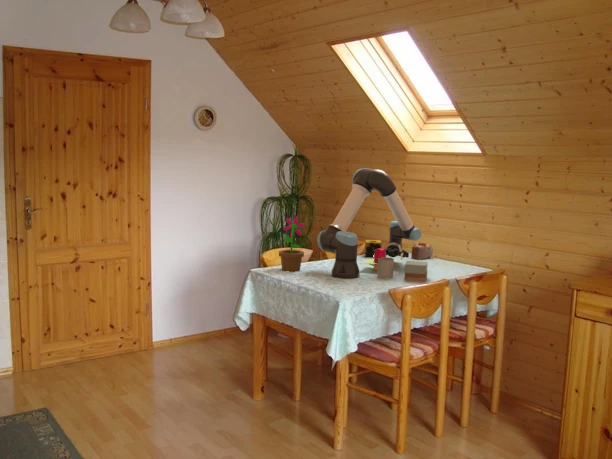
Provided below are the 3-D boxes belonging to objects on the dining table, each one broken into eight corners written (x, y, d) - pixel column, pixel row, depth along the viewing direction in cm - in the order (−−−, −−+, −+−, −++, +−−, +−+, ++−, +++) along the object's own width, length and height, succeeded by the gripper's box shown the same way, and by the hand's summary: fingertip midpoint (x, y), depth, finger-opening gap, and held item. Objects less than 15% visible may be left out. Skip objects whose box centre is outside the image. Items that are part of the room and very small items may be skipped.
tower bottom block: (425, 282, 333) (425, 274, 332) (404, 280, 335) (404, 272, 335) (427, 278, 343) (427, 270, 343) (406, 276, 346) (407, 268, 345)
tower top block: (425, 274, 332) (426, 265, 331) (404, 272, 335) (405, 264, 334) (427, 270, 343) (427, 261, 342) (406, 268, 345) (406, 260, 345)
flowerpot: (306, 268, 359) (308, 216, 355) (300, 273, 346) (301, 218, 342) (282, 266, 363) (283, 214, 359) (274, 271, 349) (275, 217, 345)
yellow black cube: (380, 255, 407) (381, 240, 406) (381, 258, 397) (381, 242, 396) (365, 254, 408) (365, 239, 407) (364, 257, 398) (365, 242, 397)
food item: (423, 256, 409) (424, 241, 407) (433, 258, 403) (434, 242, 401) (409, 258, 400) (410, 243, 398) (419, 260, 394) (420, 244, 392)
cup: (380, 278, 338) (381, 260, 336) (375, 275, 345) (375, 257, 344) (395, 278, 340) (396, 259, 338) (389, 275, 348) (390, 257, 346)
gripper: (414, 257, 369) (411, 264, 348) (372, 255, 375) (366, 261, 355) (415, 244, 368) (411, 251, 347) (372, 242, 374) (366, 248, 353)
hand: (388, 256), depth 351 cm, fingers open, 13 cm apart
